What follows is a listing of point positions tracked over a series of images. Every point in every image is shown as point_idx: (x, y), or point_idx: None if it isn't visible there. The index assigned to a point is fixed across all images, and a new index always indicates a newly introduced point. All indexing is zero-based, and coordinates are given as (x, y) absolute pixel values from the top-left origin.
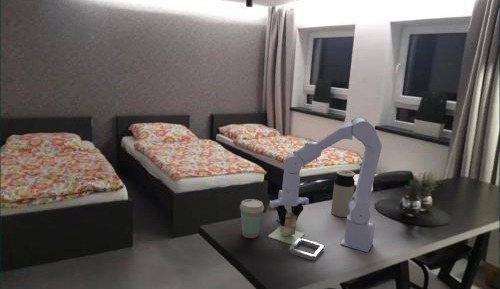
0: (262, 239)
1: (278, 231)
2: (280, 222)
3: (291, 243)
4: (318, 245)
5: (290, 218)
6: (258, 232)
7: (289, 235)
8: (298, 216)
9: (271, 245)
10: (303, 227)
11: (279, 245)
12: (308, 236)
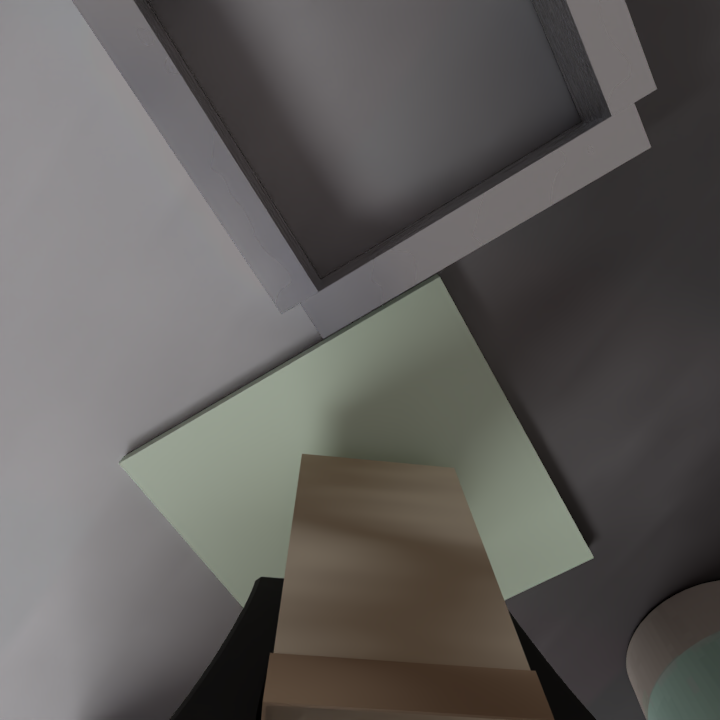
0: (674, 527)
1: None
2: None
3: (454, 307)
4: (144, 15)
5: (431, 679)
6: (703, 628)
7: None
8: (189, 700)
9: (686, 379)
10: (48, 597)
11: (601, 343)
12: (105, 398)
